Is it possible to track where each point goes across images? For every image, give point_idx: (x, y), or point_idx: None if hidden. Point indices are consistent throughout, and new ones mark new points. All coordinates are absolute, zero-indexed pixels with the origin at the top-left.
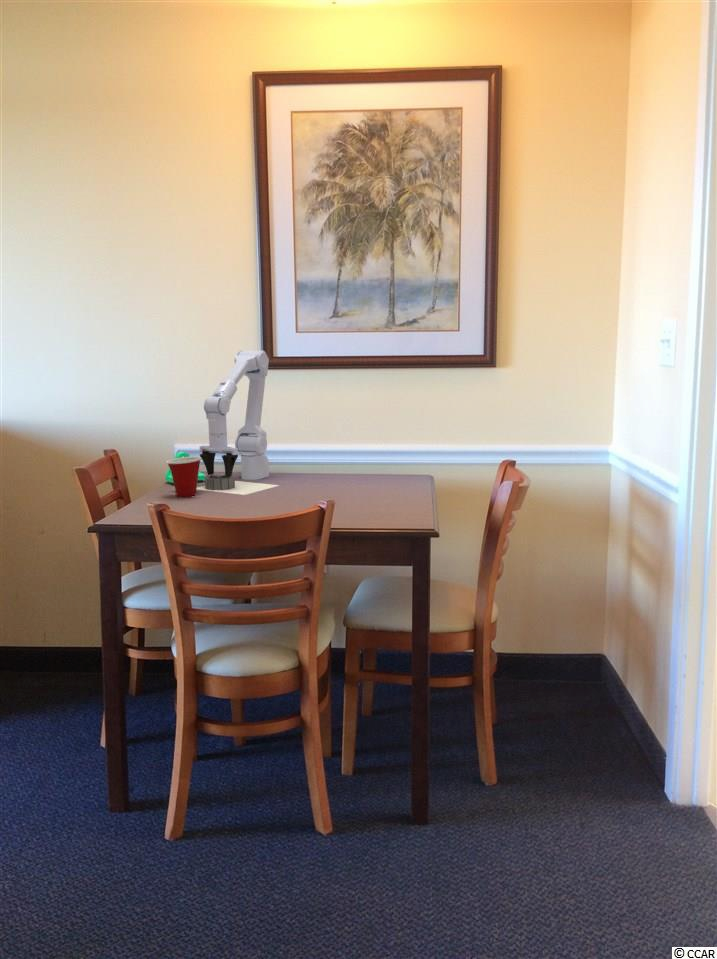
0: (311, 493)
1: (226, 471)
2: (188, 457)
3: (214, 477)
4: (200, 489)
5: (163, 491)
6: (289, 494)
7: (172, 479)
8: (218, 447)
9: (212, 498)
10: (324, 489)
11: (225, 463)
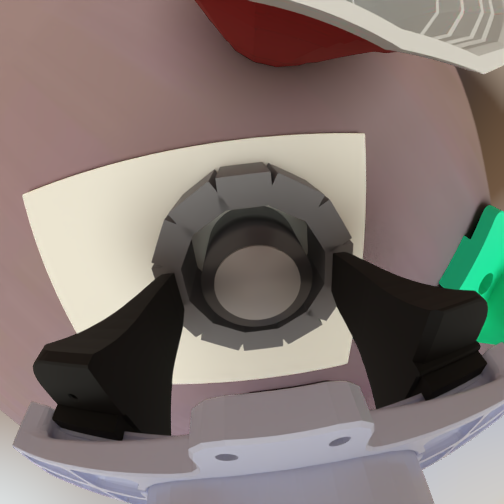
0: (9, 346)
1: (146, 288)
2: (488, 46)
3: (250, 228)
4: (304, 141)
5: (446, 80)
6: (12, 315)
7: (499, 210)
8: (165, 501)
9: (106, 71)
10: (40, 388)
11: (117, 324)
